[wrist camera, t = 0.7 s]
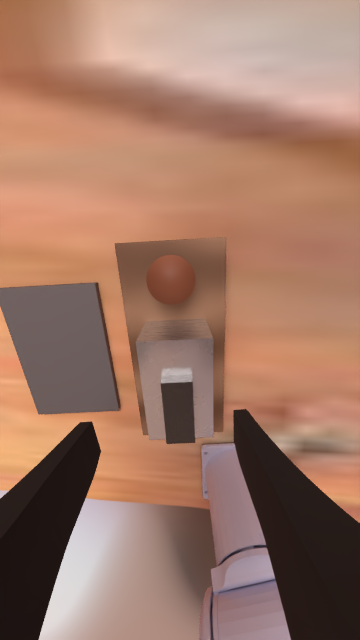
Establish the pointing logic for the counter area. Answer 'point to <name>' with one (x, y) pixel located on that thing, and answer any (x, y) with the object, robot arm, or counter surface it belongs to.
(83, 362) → the rubber mat
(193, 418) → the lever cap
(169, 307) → the body
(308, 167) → the counter surface
